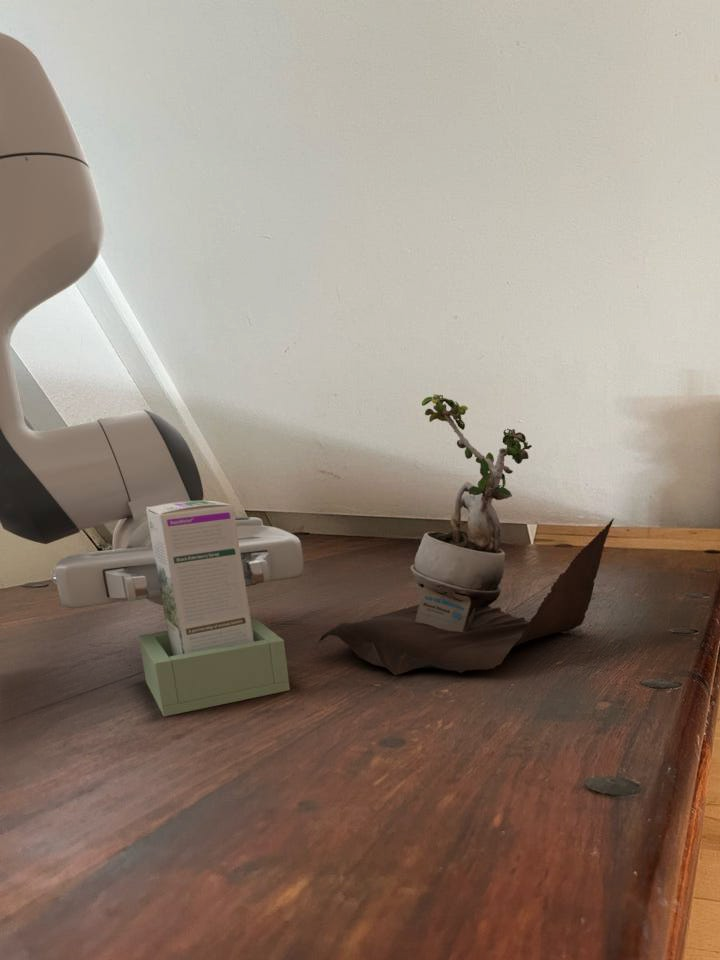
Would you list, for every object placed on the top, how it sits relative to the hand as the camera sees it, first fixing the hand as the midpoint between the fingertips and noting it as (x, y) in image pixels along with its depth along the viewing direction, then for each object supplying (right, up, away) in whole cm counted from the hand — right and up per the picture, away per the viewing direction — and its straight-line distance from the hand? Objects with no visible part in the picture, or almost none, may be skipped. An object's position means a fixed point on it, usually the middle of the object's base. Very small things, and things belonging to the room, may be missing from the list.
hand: (201, 580), depth 62 cm
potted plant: (+21, -5, +12) cm, 25 cm away
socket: (0, -9, +3) cm, 9 cm away
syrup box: (0, -8, +3) cm, 9 cm away
